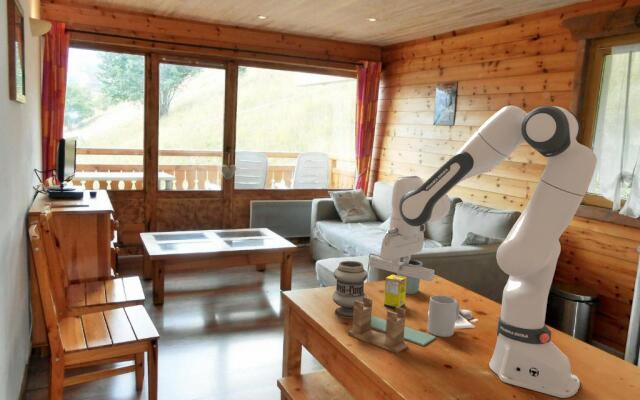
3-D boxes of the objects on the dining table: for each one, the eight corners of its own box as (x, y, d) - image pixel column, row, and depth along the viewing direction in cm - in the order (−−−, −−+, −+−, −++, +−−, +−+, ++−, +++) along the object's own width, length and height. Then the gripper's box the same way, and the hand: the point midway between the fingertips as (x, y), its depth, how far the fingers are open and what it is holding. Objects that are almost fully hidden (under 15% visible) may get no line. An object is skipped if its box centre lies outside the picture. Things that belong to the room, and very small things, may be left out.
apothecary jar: (325, 309, 174) (327, 260, 171) (353, 305, 180) (355, 257, 177) (343, 321, 163) (346, 269, 161) (372, 316, 170) (376, 266, 167)
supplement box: (405, 305, 183) (407, 277, 181) (398, 309, 178) (400, 280, 176) (390, 301, 186) (392, 273, 184) (383, 306, 181) (385, 277, 179)
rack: (407, 347, 146) (410, 310, 145) (397, 353, 142) (400, 315, 140) (359, 329, 158) (361, 295, 156) (347, 334, 153) (349, 299, 152)
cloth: (467, 334, 159) (469, 316, 158) (416, 318, 171) (418, 301, 170) (493, 317, 176) (494, 301, 175) (445, 303, 188) (447, 288, 187)
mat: (435, 338, 154) (435, 336, 154) (423, 346, 148) (423, 344, 147) (372, 317, 169) (372, 315, 169) (358, 323, 163) (358, 321, 163)
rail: (433, 279, 150) (434, 270, 149) (429, 281, 147) (429, 271, 147) (374, 264, 164) (374, 255, 163) (368, 265, 161) (369, 256, 161)
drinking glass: (395, 292, 197) (397, 263, 195) (395, 285, 206) (397, 257, 205) (420, 295, 195) (423, 266, 193) (419, 287, 205) (422, 259, 203)
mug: (441, 339, 154) (444, 305, 152) (421, 329, 161) (424, 297, 159) (466, 332, 160) (469, 299, 159) (447, 323, 167) (449, 292, 166)
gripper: (395, 232, 144) (391, 278, 145) (428, 225, 159) (424, 266, 161) (377, 229, 148) (374, 273, 150) (411, 222, 163) (408, 262, 165)
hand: (400, 269), depth 155 cm, fingers closed on rail, 3 cm apart
